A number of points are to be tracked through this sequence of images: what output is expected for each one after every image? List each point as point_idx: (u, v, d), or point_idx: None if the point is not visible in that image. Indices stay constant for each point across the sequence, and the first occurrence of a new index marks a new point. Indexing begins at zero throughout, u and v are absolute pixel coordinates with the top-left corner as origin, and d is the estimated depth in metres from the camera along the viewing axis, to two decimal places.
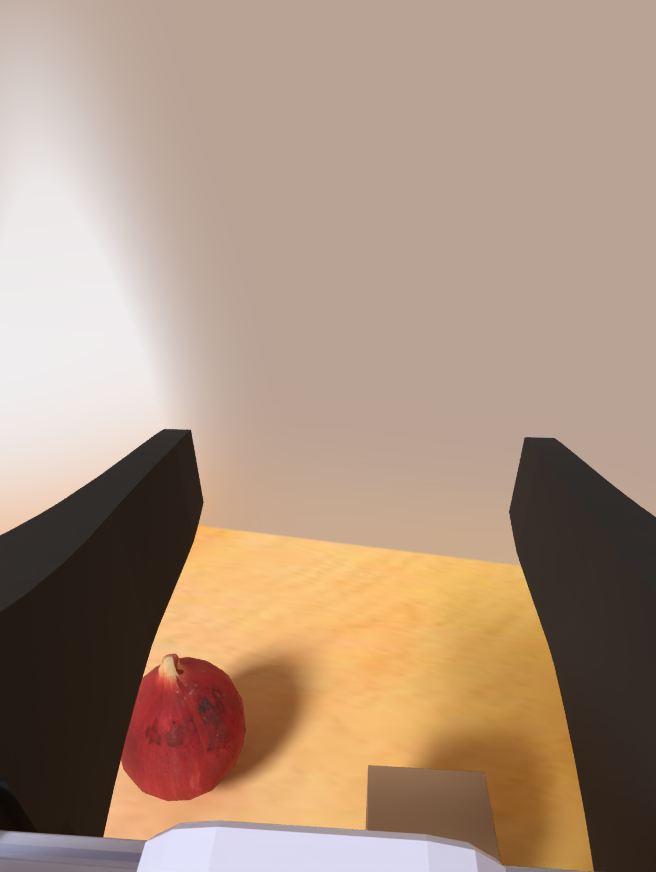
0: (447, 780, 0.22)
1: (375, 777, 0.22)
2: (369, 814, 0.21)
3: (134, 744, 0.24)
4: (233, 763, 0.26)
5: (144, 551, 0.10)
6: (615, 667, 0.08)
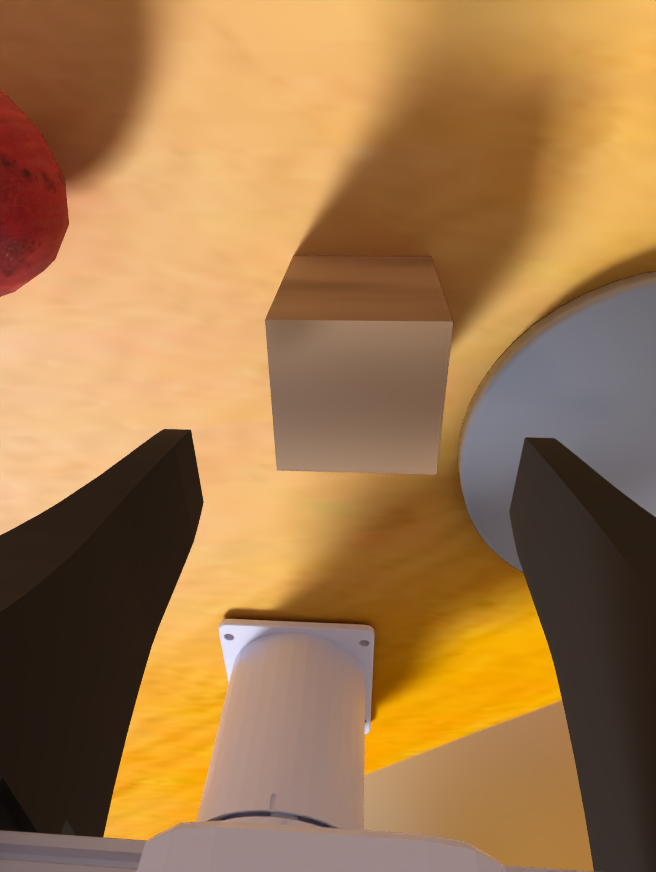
0: (390, 337, 0.14)
1: (277, 337, 0.14)
2: (272, 386, 0.15)
3: None
4: (64, 229, 0.16)
5: (144, 551, 0.10)
6: (615, 667, 0.08)
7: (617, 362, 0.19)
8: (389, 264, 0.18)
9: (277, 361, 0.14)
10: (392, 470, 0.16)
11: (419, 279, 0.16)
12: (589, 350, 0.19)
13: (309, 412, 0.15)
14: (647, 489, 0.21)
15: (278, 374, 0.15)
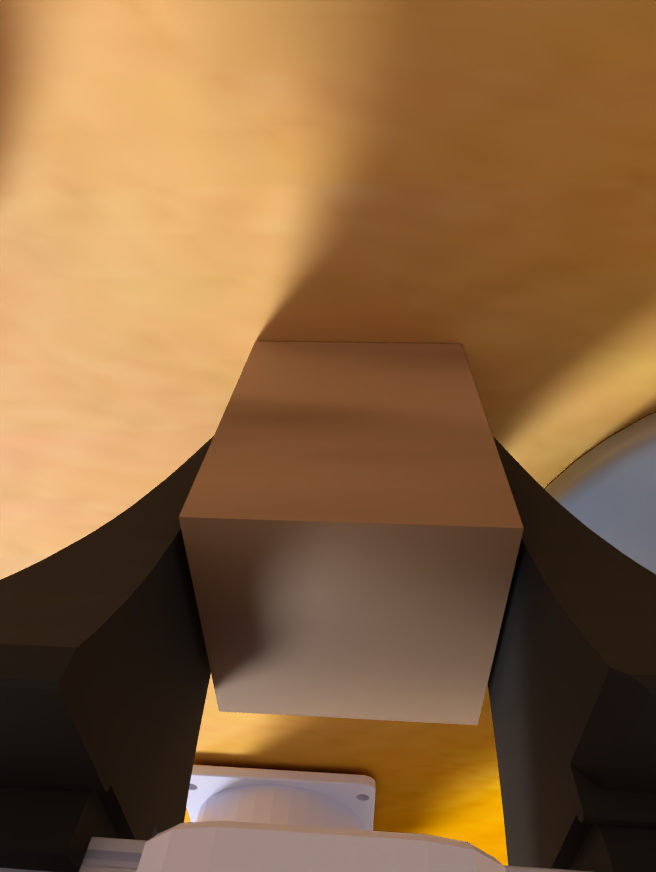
0: (406, 547, 0.08)
1: (204, 542, 0.08)
2: (201, 608, 0.09)
3: None
4: None
5: None
6: (523, 663, 0.08)
7: None
8: (399, 363, 0.12)
9: (206, 575, 0.08)
10: (405, 717, 0.10)
11: (449, 402, 0.10)
12: None
13: (266, 643, 0.09)
14: None
15: (210, 593, 0.08)
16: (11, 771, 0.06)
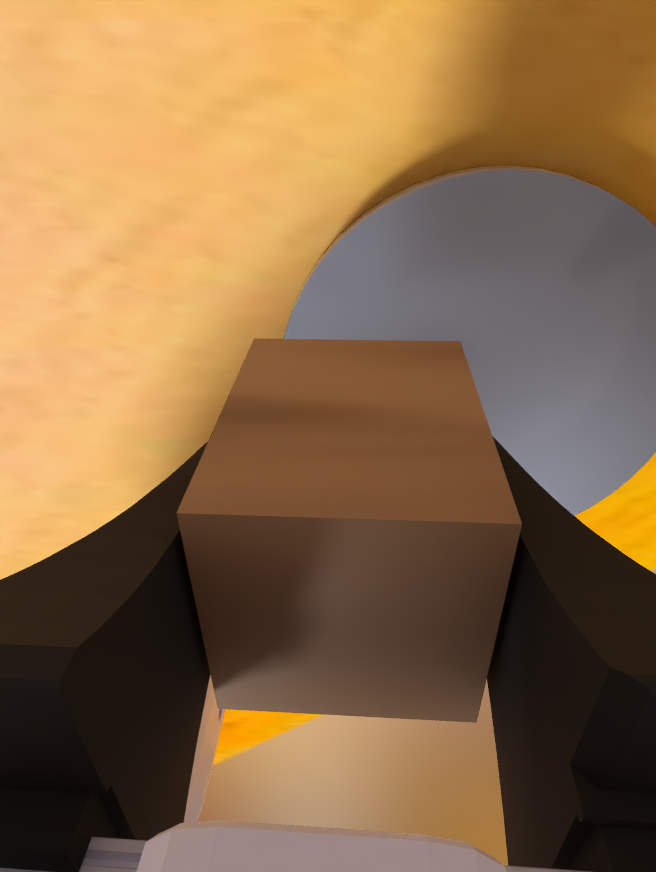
0: (404, 543, 0.08)
1: (202, 539, 0.08)
2: (199, 604, 0.09)
3: None
4: None
5: None
6: (523, 663, 0.08)
7: (422, 272, 0.17)
8: (398, 360, 0.12)
9: (204, 572, 0.08)
10: (404, 714, 0.10)
11: (448, 399, 0.10)
12: (390, 258, 0.17)
13: (264, 640, 0.09)
14: None
15: (208, 589, 0.08)
16: (11, 771, 0.06)
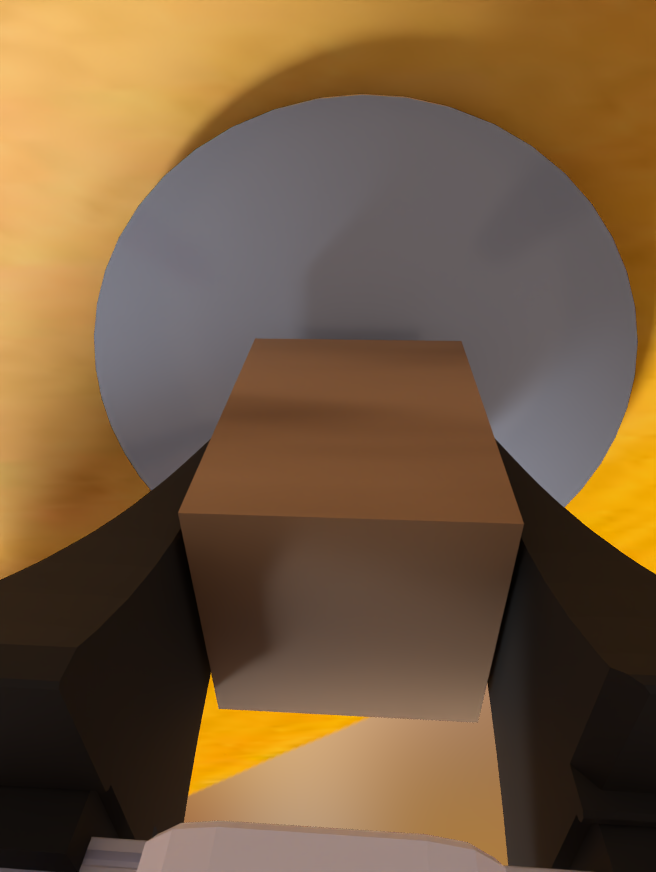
0: (405, 543, 0.08)
1: (203, 539, 0.08)
2: (200, 604, 0.09)
3: None
4: None
5: None
6: (523, 663, 0.08)
7: (257, 243, 0.13)
8: (399, 360, 0.12)
9: (206, 572, 0.08)
10: (405, 714, 0.10)
11: (449, 399, 0.10)
12: (212, 224, 0.13)
13: (266, 639, 0.09)
14: None
15: (209, 589, 0.08)
16: (11, 771, 0.06)
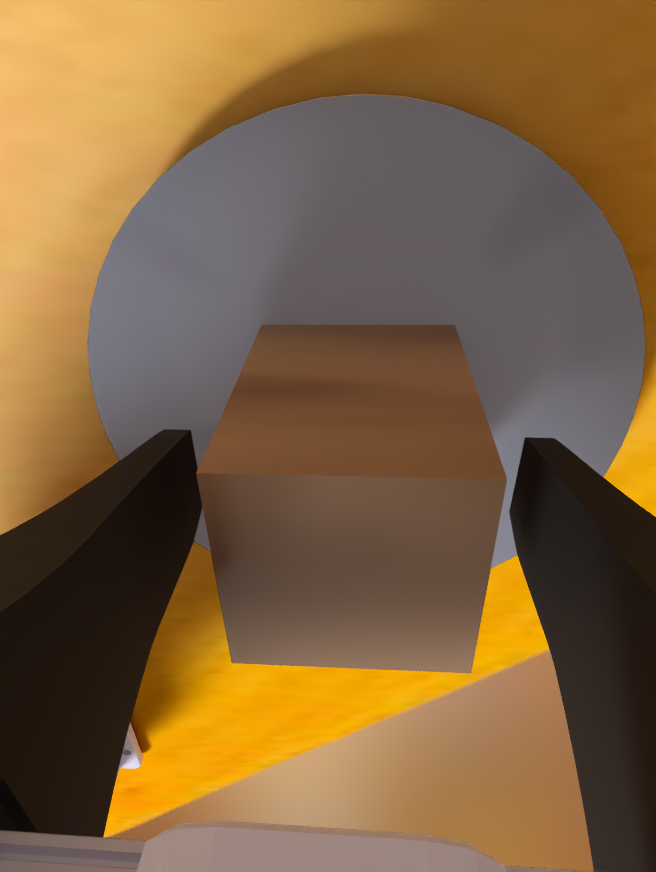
0: (402, 499, 0.08)
1: (219, 497, 0.09)
2: (215, 561, 0.09)
3: None
4: None
5: (144, 551, 0.10)
6: (615, 667, 0.08)
7: (254, 247, 0.12)
8: (397, 342, 0.12)
9: (221, 529, 0.09)
10: (404, 666, 0.11)
11: (442, 375, 0.11)
12: (208, 227, 0.12)
13: (275, 594, 0.10)
14: None
15: (224, 546, 0.09)
16: None
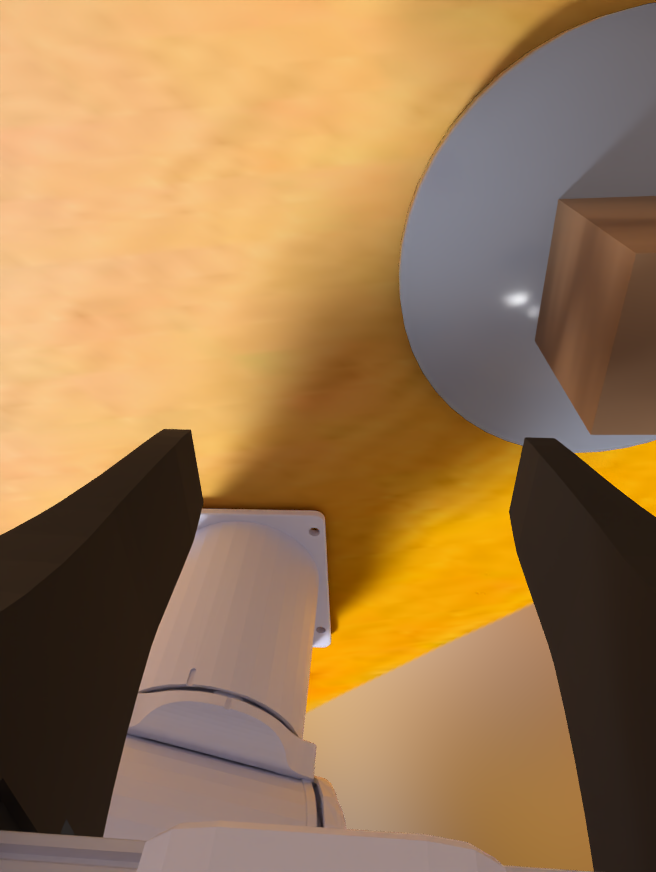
0: None
1: (644, 275, 0.12)
2: (617, 334, 0.13)
3: None
4: None
5: (144, 551, 0.10)
6: (615, 667, 0.08)
7: (570, 131, 0.16)
8: None
9: (634, 304, 0.12)
10: None
11: None
12: (536, 115, 0.16)
13: (652, 364, 0.13)
14: None
15: (630, 320, 0.13)
16: None
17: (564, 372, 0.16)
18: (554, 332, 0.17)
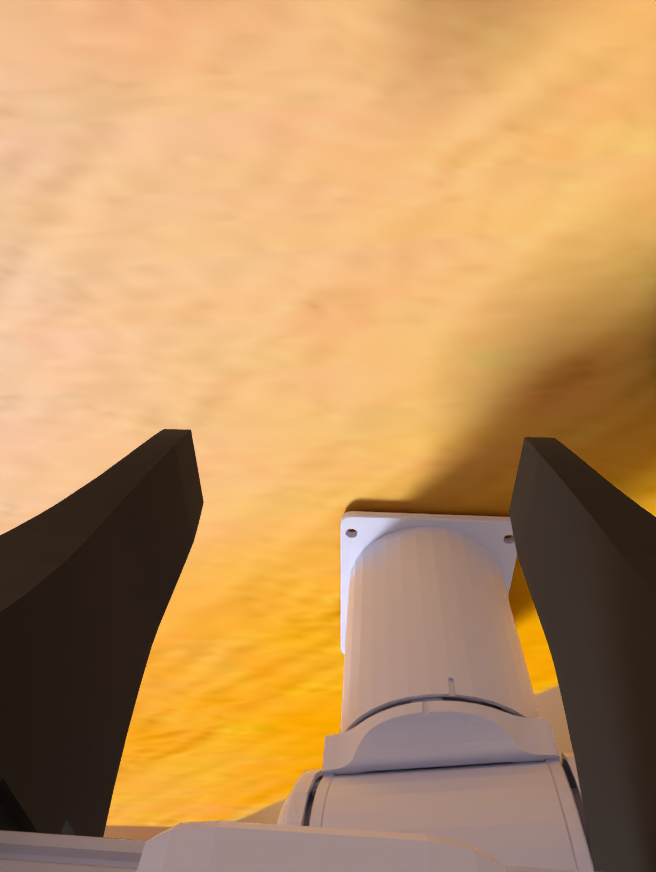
0: None
1: None
2: None
3: None
4: None
5: (144, 551, 0.10)
6: (615, 667, 0.08)
7: None
8: None
9: None
10: None
11: None
12: None
13: None
14: None
15: None
16: None
17: None
18: None
